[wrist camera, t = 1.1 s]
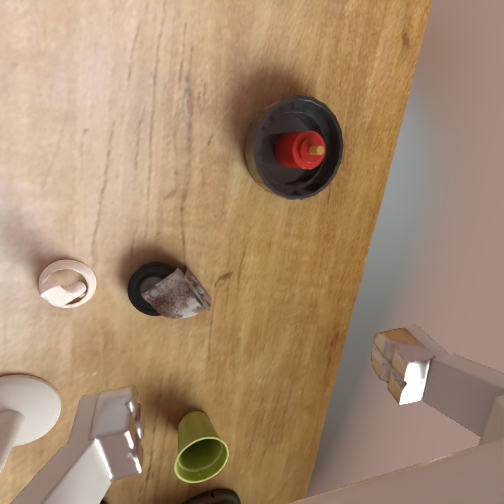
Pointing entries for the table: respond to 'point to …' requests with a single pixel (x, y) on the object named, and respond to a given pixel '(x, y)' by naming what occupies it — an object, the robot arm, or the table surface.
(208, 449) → the plant pot
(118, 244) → the table surface
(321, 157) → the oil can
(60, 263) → the hook
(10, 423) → the candlestick
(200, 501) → the owl figurine
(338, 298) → the table surface
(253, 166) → the bowl
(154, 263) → the caster wheel
